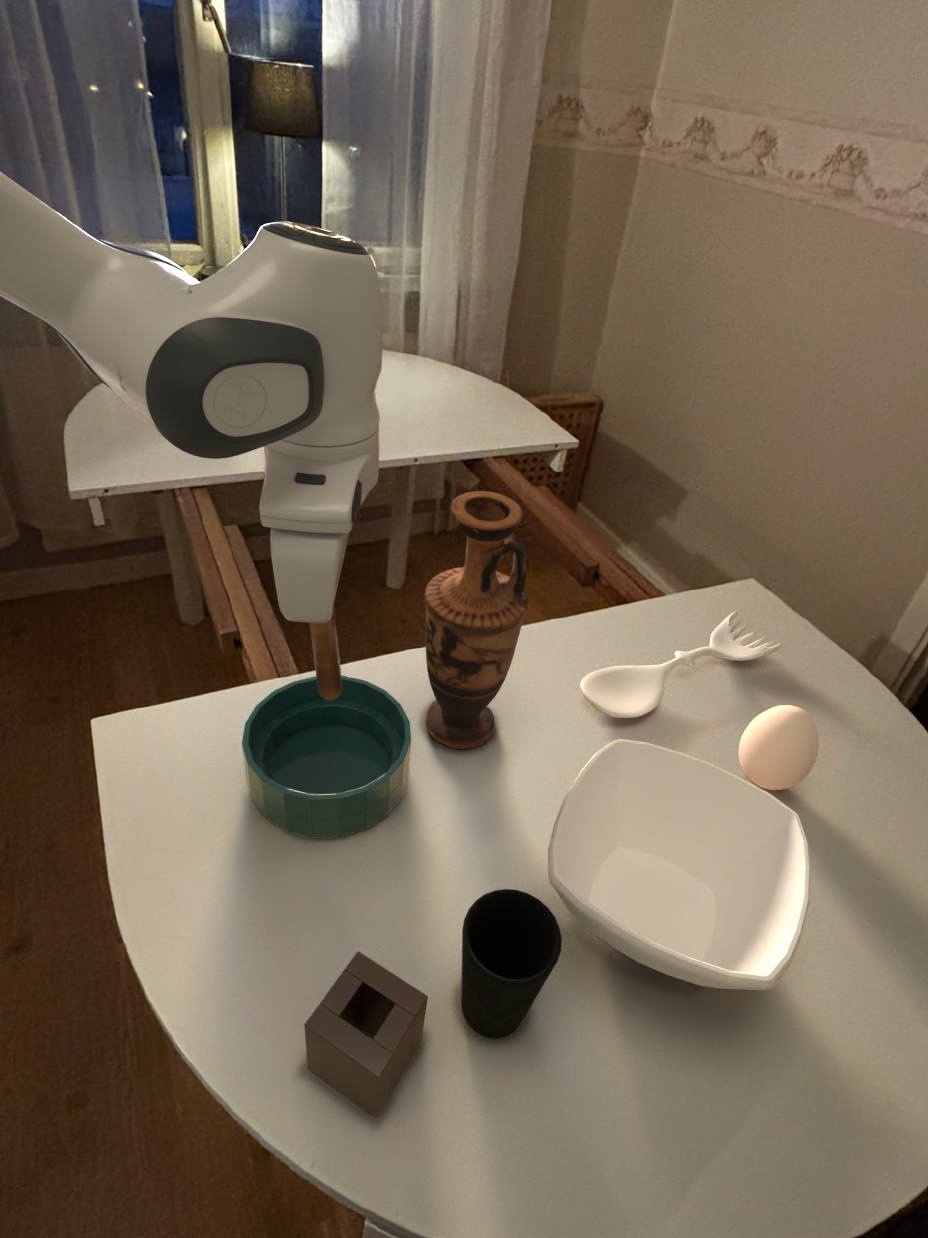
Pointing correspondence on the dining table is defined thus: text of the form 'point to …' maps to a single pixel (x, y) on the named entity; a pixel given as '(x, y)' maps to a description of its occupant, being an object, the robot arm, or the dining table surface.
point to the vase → (474, 621)
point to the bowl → (682, 866)
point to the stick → (327, 658)
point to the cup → (505, 959)
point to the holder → (349, 1053)
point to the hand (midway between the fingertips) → (325, 597)
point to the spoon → (663, 673)
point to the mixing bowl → (326, 757)
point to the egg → (779, 747)
